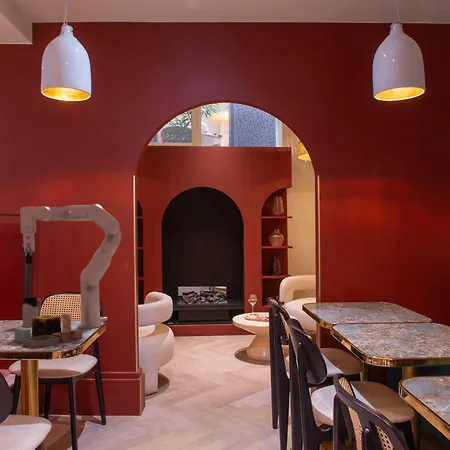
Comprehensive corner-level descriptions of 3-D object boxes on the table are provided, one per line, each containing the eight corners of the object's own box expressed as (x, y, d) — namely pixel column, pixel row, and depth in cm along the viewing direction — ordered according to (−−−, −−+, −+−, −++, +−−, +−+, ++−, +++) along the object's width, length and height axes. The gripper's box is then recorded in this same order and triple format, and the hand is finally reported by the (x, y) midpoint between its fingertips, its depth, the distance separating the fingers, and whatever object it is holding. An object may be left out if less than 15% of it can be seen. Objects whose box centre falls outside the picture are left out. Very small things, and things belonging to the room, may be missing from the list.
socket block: (70, 336, 239) (70, 330, 239) (82, 339, 233) (82, 332, 233) (51, 340, 232) (51, 333, 232) (62, 342, 225) (62, 336, 225)
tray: (46, 340, 231) (46, 334, 231) (59, 343, 224) (59, 337, 224) (23, 344, 223) (23, 338, 223) (35, 348, 215) (35, 341, 215)
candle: (44, 340, 232) (44, 319, 232) (30, 338, 237) (30, 317, 238) (62, 336, 241) (61, 315, 241) (48, 334, 246) (48, 314, 246)
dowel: (68, 338, 235) (68, 313, 235) (72, 339, 232) (72, 314, 233) (60, 339, 232) (60, 314, 232) (65, 341, 229) (64, 315, 230)
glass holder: (18, 326, 268) (18, 299, 268) (34, 322, 282) (33, 295, 282) (32, 327, 266) (32, 299, 266) (47, 322, 280) (47, 296, 280)
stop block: (20, 339, 235) (20, 326, 235) (30, 342, 228) (30, 329, 228) (14, 340, 232) (14, 327, 232) (24, 343, 226) (24, 330, 226)
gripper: (36, 230, 250) (36, 263, 250) (36, 230, 267) (36, 262, 266) (20, 230, 248) (20, 264, 247) (21, 230, 264) (21, 262, 264)
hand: (28, 263), depth 257 cm, fingers open, 9 cm apart
